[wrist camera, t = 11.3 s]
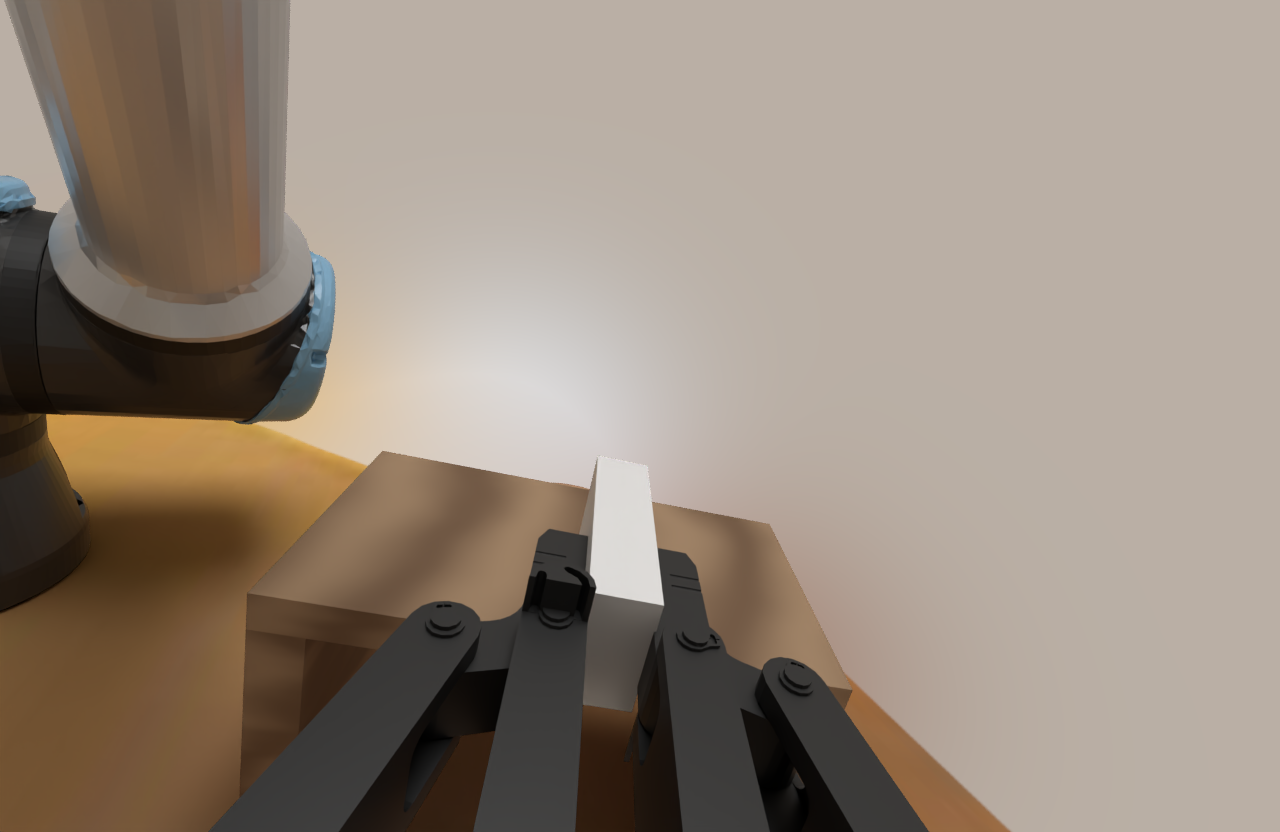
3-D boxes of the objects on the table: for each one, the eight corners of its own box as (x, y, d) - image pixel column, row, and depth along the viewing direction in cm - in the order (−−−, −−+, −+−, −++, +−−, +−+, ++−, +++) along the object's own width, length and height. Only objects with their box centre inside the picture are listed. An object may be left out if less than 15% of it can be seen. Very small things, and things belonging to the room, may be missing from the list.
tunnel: (236, 889, 25) (247, 593, 21) (359, 666, 38) (382, 450, 33) (746, 945, 28) (852, 690, 23) (705, 718, 40) (769, 524, 36)
